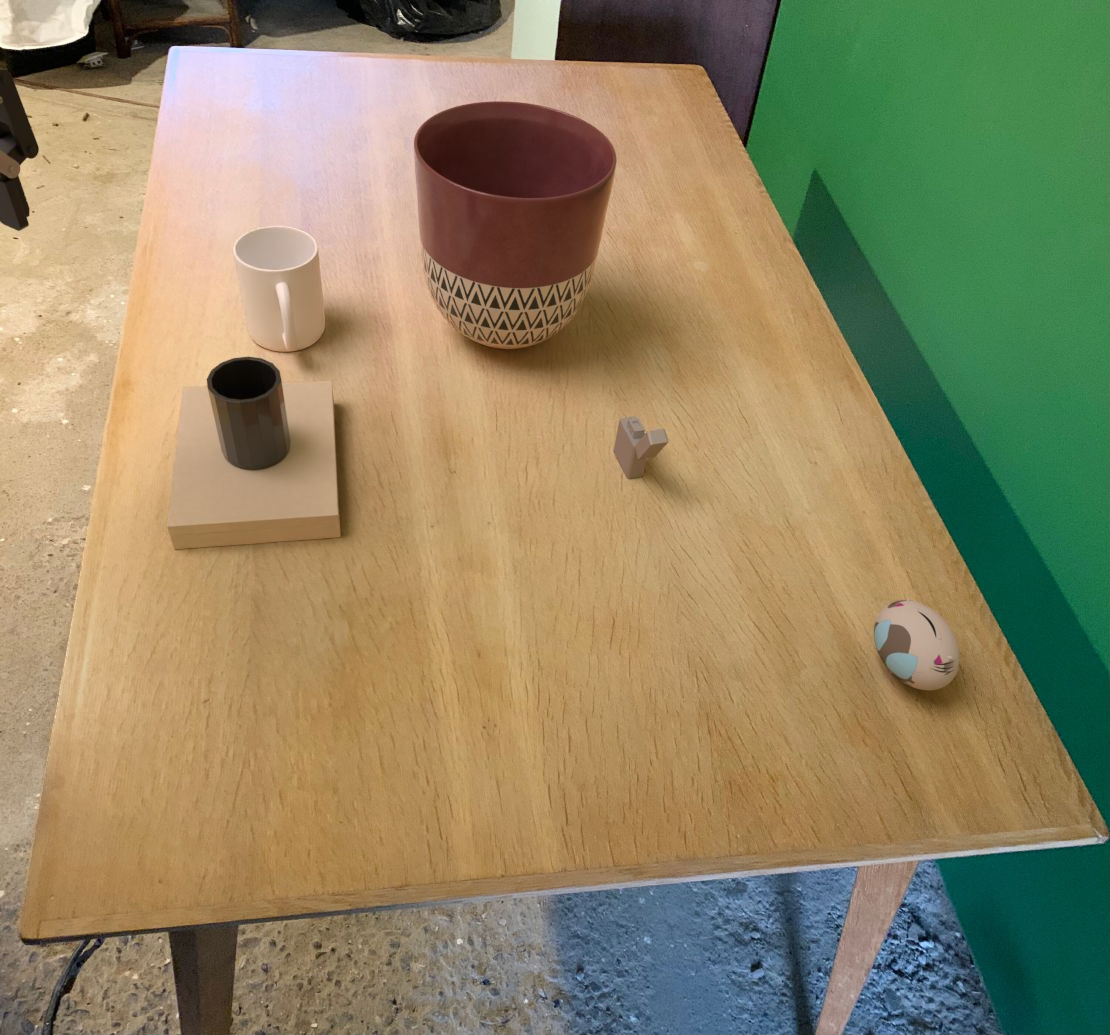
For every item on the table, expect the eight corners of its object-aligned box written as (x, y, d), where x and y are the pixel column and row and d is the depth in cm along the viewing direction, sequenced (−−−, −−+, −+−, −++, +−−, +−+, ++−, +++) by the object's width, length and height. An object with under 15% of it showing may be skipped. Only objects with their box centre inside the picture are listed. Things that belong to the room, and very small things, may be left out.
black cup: (261, 479, 84) (249, 411, 78) (207, 453, 85) (191, 385, 79) (304, 440, 87) (295, 372, 82) (251, 416, 89) (239, 348, 83)
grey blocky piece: (612, 450, 95) (624, 388, 89) (628, 447, 95) (641, 386, 90) (638, 500, 91) (652, 439, 85) (654, 497, 91) (670, 437, 85)
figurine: (845, 639, 82) (872, 591, 77) (903, 624, 84) (932, 577, 79) (895, 717, 77) (927, 672, 72) (955, 701, 79) (990, 655, 74)
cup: (320, 303, 106) (312, 222, 99) (336, 371, 99) (328, 288, 91) (243, 310, 104) (229, 228, 97) (254, 380, 97) (239, 296, 89)
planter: (400, 287, 110) (395, 105, 94) (558, 272, 115) (579, 96, 100) (438, 395, 98) (440, 206, 82) (613, 372, 103) (646, 191, 88)
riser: (340, 537, 84) (338, 514, 82) (173, 549, 81) (166, 526, 79) (334, 403, 96) (331, 380, 93) (188, 410, 93) (182, 386, 91)
